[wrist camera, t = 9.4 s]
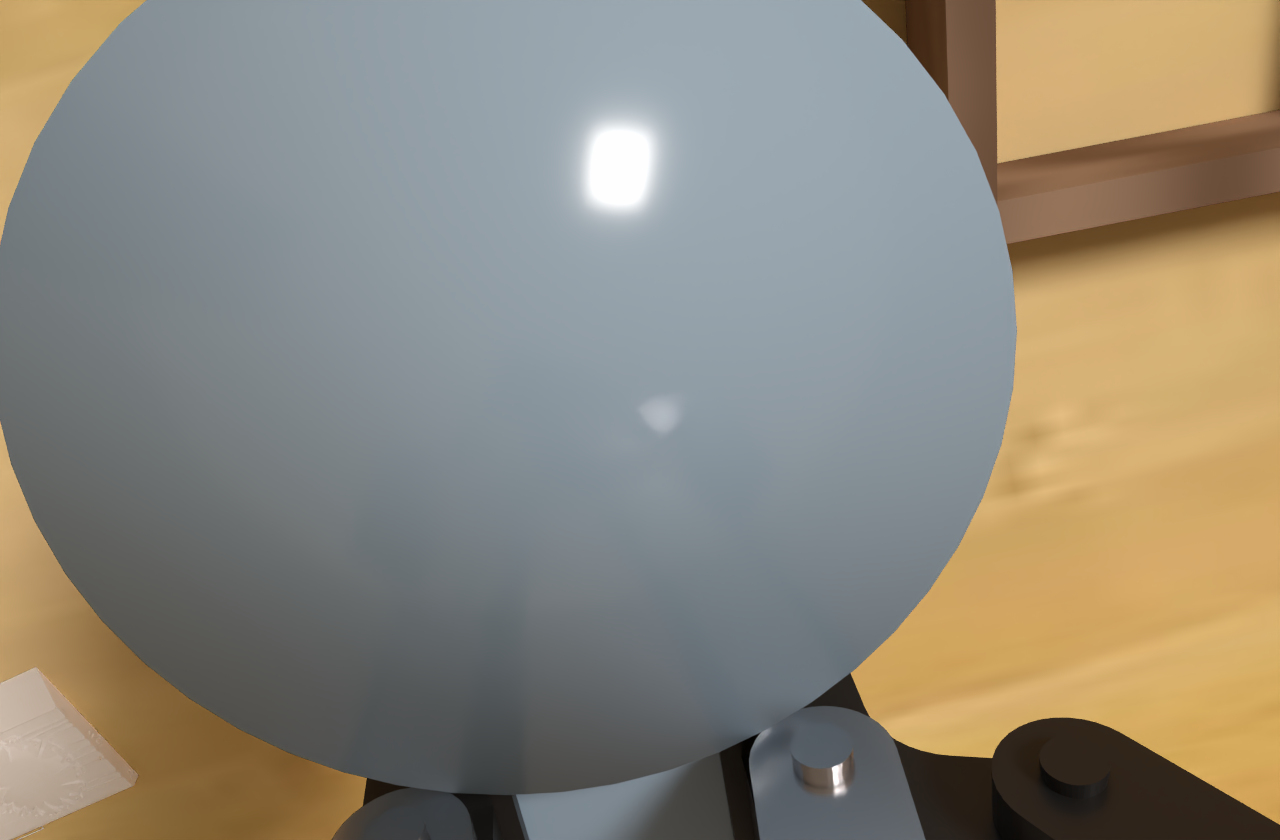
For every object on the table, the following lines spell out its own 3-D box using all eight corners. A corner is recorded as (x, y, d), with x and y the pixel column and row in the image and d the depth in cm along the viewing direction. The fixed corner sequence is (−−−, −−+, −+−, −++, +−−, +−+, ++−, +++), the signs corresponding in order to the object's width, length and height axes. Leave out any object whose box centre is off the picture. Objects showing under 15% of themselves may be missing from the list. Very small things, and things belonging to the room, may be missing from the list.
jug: (149, -205, 13) (-366, -283, 6) (716, -309, 14) (1014, -528, 6) (416, 626, 19) (355, 1166, 11) (809, 548, 20) (1018, 1027, 12)
